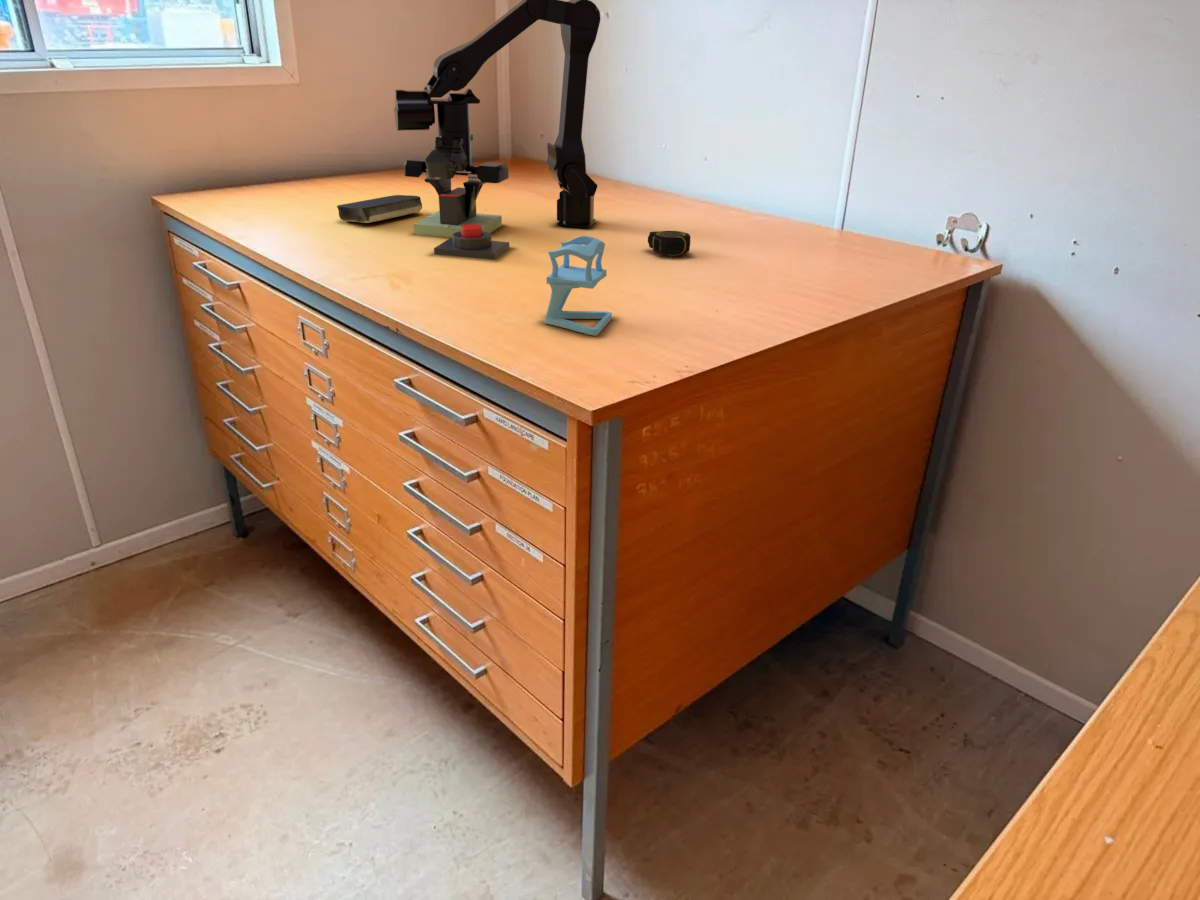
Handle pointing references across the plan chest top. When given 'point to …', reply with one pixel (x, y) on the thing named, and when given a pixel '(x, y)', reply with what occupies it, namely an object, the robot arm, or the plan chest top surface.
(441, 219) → the block
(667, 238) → the tape measure
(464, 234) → the button
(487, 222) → the pale green square pad
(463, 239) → the button box
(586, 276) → the chair
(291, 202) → the plan chest top surface
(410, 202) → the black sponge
